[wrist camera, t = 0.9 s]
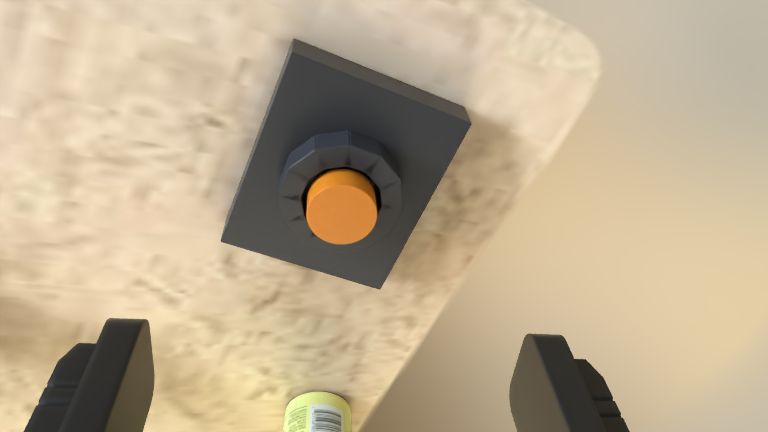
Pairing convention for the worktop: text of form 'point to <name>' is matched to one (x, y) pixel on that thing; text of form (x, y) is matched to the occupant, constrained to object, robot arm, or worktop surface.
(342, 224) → the button
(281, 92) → the switchbox
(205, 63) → the worktop surface
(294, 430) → the tube
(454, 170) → the worktop surface
